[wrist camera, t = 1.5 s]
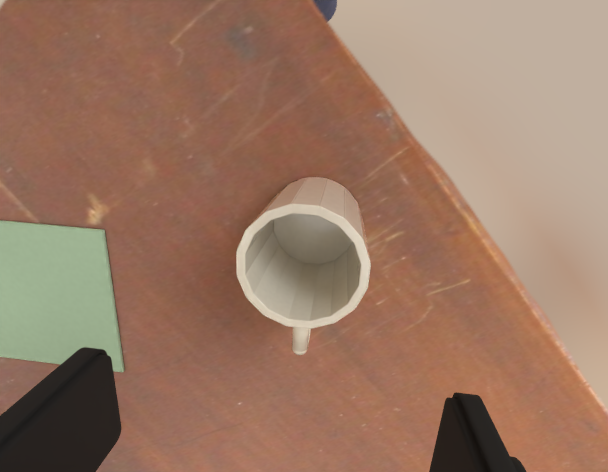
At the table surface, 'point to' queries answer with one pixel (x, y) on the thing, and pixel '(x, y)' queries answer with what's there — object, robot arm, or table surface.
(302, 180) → the mug
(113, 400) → the robot arm
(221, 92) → the table surface
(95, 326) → the mat
